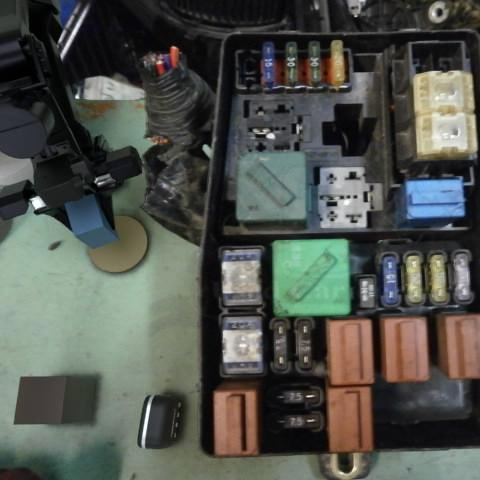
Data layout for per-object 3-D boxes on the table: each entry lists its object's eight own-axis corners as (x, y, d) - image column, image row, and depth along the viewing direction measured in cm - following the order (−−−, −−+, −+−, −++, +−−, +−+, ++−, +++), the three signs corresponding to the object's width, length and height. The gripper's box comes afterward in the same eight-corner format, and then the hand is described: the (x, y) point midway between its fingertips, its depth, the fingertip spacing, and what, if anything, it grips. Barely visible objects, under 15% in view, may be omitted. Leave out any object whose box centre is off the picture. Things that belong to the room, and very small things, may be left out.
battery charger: (182, 445, 79) (164, 452, 68) (156, 443, 79) (134, 450, 68) (189, 396, 81) (173, 395, 70) (164, 393, 81) (143, 393, 70)
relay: (92, 249, 79) (74, 236, 72) (83, 219, 80) (64, 203, 73) (119, 240, 79) (103, 225, 72) (110, 209, 80) (93, 193, 74)
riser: (50, 421, 80) (13, 424, 69) (56, 379, 81) (20, 376, 71) (92, 420, 80) (60, 424, 69) (96, 378, 82) (66, 376, 71)
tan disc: (79, 238, 88) (76, 236, 86) (130, 207, 89) (128, 204, 88) (108, 285, 86) (105, 283, 84) (159, 252, 87) (158, 250, 86)
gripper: (-47, 178, 61) (24, 286, 69) (115, 126, 64) (165, 236, 72) (-23, 149, 71) (37, 247, 78) (117, 104, 73) (161, 203, 81)
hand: (99, 234), depth 77 cm, fingers closed on relay, 4 cm apart
